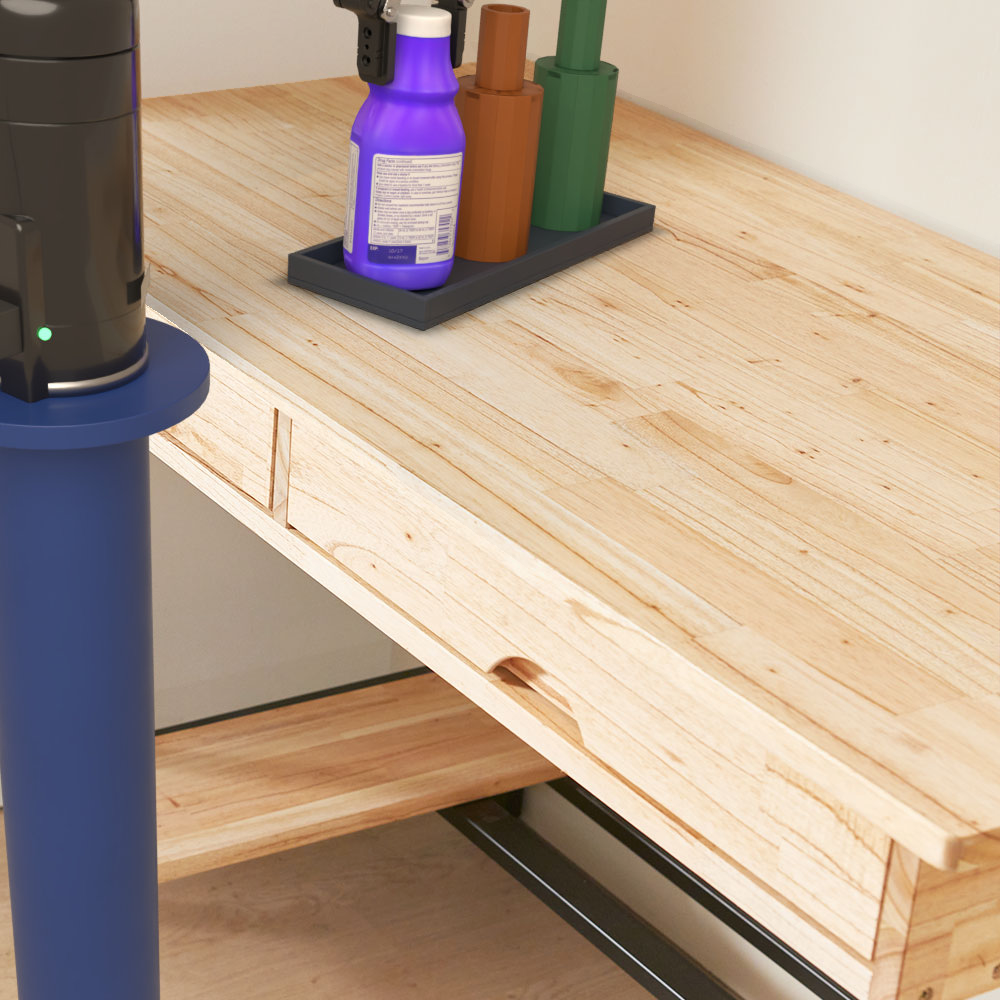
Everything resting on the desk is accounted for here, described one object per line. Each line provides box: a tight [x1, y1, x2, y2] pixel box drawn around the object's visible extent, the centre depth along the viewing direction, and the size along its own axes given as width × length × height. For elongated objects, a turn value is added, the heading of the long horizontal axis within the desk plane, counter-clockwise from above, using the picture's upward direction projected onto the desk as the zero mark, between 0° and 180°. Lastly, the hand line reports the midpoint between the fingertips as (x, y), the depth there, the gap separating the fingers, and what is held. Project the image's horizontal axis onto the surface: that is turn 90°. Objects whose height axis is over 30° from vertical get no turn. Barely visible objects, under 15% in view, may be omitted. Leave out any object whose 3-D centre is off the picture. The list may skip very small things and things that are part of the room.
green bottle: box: [530, 0, 620, 232], centre depth 113 cm, size 6×6×17 cm
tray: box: [286, 190, 657, 331], centre depth 109 cm, size 29×11×2 cm, turn 146°
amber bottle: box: [454, 3, 544, 263], centre depth 105 cm, size 6×6×17 cm
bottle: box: [343, 3, 466, 291], centre depth 97 cm, size 7×6×17 cm
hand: (410, 73), depth 95 cm, fingers open, 6 cm apart
